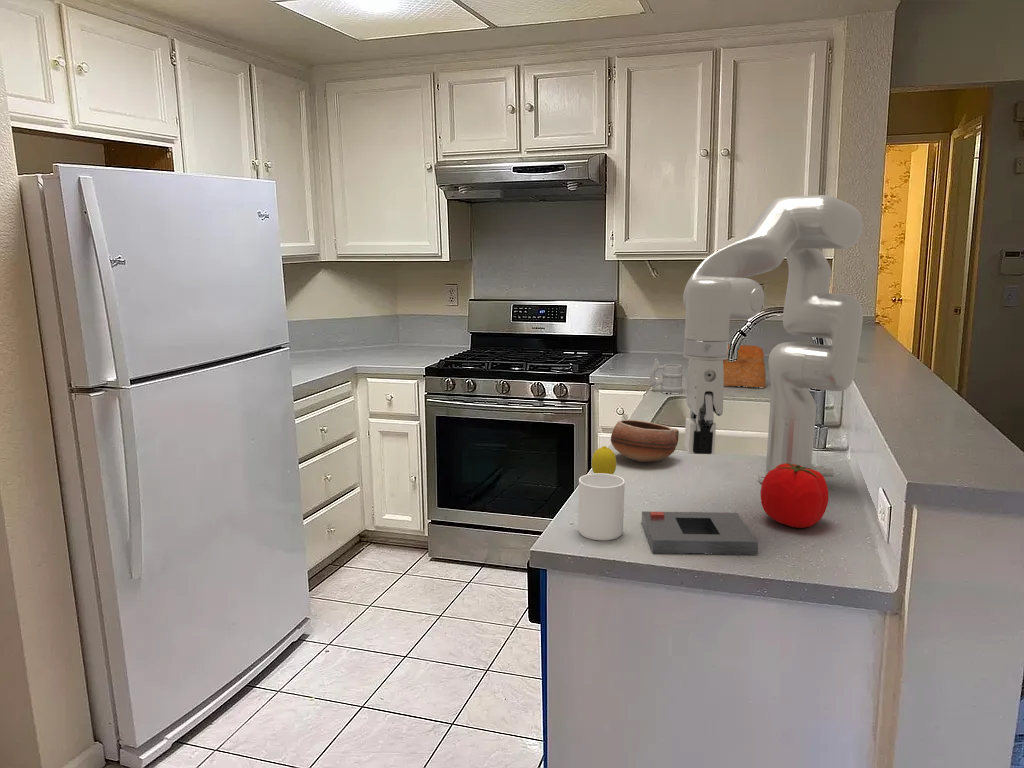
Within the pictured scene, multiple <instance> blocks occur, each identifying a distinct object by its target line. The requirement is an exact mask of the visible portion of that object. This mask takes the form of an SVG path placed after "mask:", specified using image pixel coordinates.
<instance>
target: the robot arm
mask: <svg viewBox="0 0 1024 768" xmlns="http://www.w3.org/2000/svg"><path fill="white" fill-rule="evenodd" d="M862 232H863V219H862V215H861V213H860V211H859V209H857V208H856V207H855V206H854V205H852V204H850V203H848V202H846V201H844V200H841V199H839V198H837V197H834V196H831V195H826V194H819V195H814V194H813V195H791V196H790V195H788V196H782V197H777V198H775V199H774V200H772V201H771V202H769V204H768V205H767V206H766V207H765V209H764V210H763V212H762V213H761V214H760V215H759V216H758V218H757V220H756V221H755V223H754V224H752V227H750V229H749V230H748V232H747V233H746V235H745V236H744V237H743V238H741V239H739V240H737V241H735V242H732V243H731V244H729V245H727V246H725V247H723V248H721V249H719V250H717V251H715V252H713V253H712V254H710V255H709V256H707V257H706V258H705V259H703V260H702V261H701V263H700V264H699V265H698V266H697V268H696V269H695V270H694V271H693V272H692V274H691V276H690V278H688V281H687V283H686V284H685V287H684V290H683V295H682V296H683V297H682V298H683V299H682V300H683V305H684V308H685V321H684V322H685V323H684V338H683V339H684V341H683V358H686V359H688V364H687V376H686V393H685V394H686V395H685V396H686V406H687V407H688V408H689V410H690V412H689V418H696V431H694V443H693V452H694V453H695V454H694V455H712V454H711V453H712V441H713V421H714V420H715V419H714V417H715V416H714V415H716V416H718V417H721V416H722V415H723V413H724V392H725V391H724V387H725V386H724V369H723V360H726V359H727V353H728V344H729V340H730V339H729V338H730V337H729V335H730V321H731V320H739V321H740V320H741V321H743V320H749V319H752V318H754V317H756V316H757V315H759V313H760V312H761V310H762V308H763V307H764V303H765V292H764V290H763V287H762V286H761V284H760V283H759V282H758V281H756V280H754V279H751V278H749V277H755V276H757V275H761V274H765V273H768V272H771V271H773V270H776V269H777V268H778V267H779V266H780V265H781V264H782V262H783V261H784V260H785V259H786V261H787V265H788V277H787V286H786V293H785V299H784V305H783V311H782V312H783V313H782V325H783V329H784V330H785V332H786V333H788V334H790V335H793V336H798V337H806V338H807V337H808V338H809V337H810V338H817V339H828V340H831V345H830V344H829V345H828V344H820V343H810V342H801V341H787V342H781V343H778V344H776V345H775V346H774V347H773V348H772V349H771V350H770V353H769V356H768V363H767V364H768V375H769V381H770V382H769V383H770V384H769V385H770V386H769V387H770V401H769V416H768V418H769V419H768V432H767V446H766V447H767V449H766V461H765V470H763V471H760V472H759V473H758V475H757V480H758V482H759V483H760V484H762V482H763V480H764V478H765V476H766V475H767V473H768V472H769V471H770V470H773V469H775V468H776V467H777V466H778V465H780V464H784V463H786V462H787V464H788V463H789V464H795V465H800V466H802V467H807V468H805V469H808V468H810V469H812V470H815V471H818V472H820V473H821V474H822V475H823V476H824V478H833V477H834V475H835V470H834V469H833V468H831V467H829V468H824V466H823V465H822V466H821V465H820V466H819V465H818V466H817V465H815V464H814V463H813V451H814V443H815V442H814V438H815V429H816V428H815V427H816V417H817V415H816V414H817V405H816V402H815V400H814V397H813V396H812V394H811V392H810V390H809V389H814V390H822V391H827V392H828V391H829V392H843V391H845V390H848V389H849V388H850V387H851V385H852V383H853V380H854V378H855V374H856V370H857V369H856V368H857V362H858V357H859V356H858V354H859V350H860V349H859V347H860V343H861V334H862V329H863V321H864V313H863V311H864V310H863V306H862V304H861V301H860V300H859V299H858V298H857V297H856V296H854V295H850V294H843V293H830V285H831V279H832V278H831V277H832V269H831V265H830V263H829V262H828V259H827V258H826V257H825V255H824V254H823V253H822V251H821V249H824V250H825V249H827V250H829V249H831V250H833V249H835V250H845V249H850V248H851V247H853V246H855V245H856V244H857V242H859V240H860V237H861V235H862ZM700 411H705V414H700ZM701 418H704V419H702V421H701ZM700 421H701V424H700ZM773 466H775V467H773Z"/></svg>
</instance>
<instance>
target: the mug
mask: <svg viewBox="0 0 1024 768" xmlns="http://www.w3.org/2000/svg"><path fill="white" fill-rule="evenodd" d="M658 370H662V372H661V376H662V379H660V380H656V377H655V375H656V372H657V371H658ZM682 370H683V366H682V364H678V363H666V364H663V365H660V362H659V360H658V358H655V359H654V363H653V365H652V368H651V371H650V373H649V384H650V386H651V387H652V389H655V388H656V387H658V386H660V390H661V393H662V392H666V393H681V392H682V391H683V390H684V386H683V381H682V380H683V378H682V377H683V376H684V373H683V372H682ZM681 394H682V393H681Z"/></svg>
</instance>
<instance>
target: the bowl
mask: <svg viewBox="0 0 1024 768" xmlns="http://www.w3.org/2000/svg"><path fill="white" fill-rule="evenodd" d="M679 432H680V431H679V429H678V428H673V427H669V426H667V425H664V424H658V423H656V422H651V421H647V420H646V421H645V420H638V419H621V420H618V421H617V423H616V424H615V426H614V427H613V430H612V432H611V435H610V443H611V445H612V446H613V448H614V449H615V450H616V451H617V452H618V453H619V454H621V455H622V456H624V457H626V458H628V459H630V460H633V461H636V462H639V463H640V462H642V463H652V462H657V461H658V462H659V461H660V460H663V459H666V458H668V457H669V456H671V455H672V454H674V452H675V451H676V448H677V447H678V443H679V438H680V437H679V435H680V434H679Z"/></svg>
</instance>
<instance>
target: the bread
mask: <svg viewBox="0 0 1024 768" xmlns="http://www.w3.org/2000/svg"><path fill="white" fill-rule="evenodd" d="M729 345H730V343H728V349H729ZM727 355H728V353H727ZM764 358H765V353H764V350H763V348H762V347H760V346H757V345H746V344H744V345H743V344H742V345H741V346H740V348H739V350H738V358H737V360H736V361H733V362H729V361H728V359H726V360H723V369H724V387H732V386H745V387H744V388H748V387H764V388H766V381H767V379H766V377H767V374H766V364H765V361H764ZM746 386H747V387H746Z"/></svg>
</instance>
